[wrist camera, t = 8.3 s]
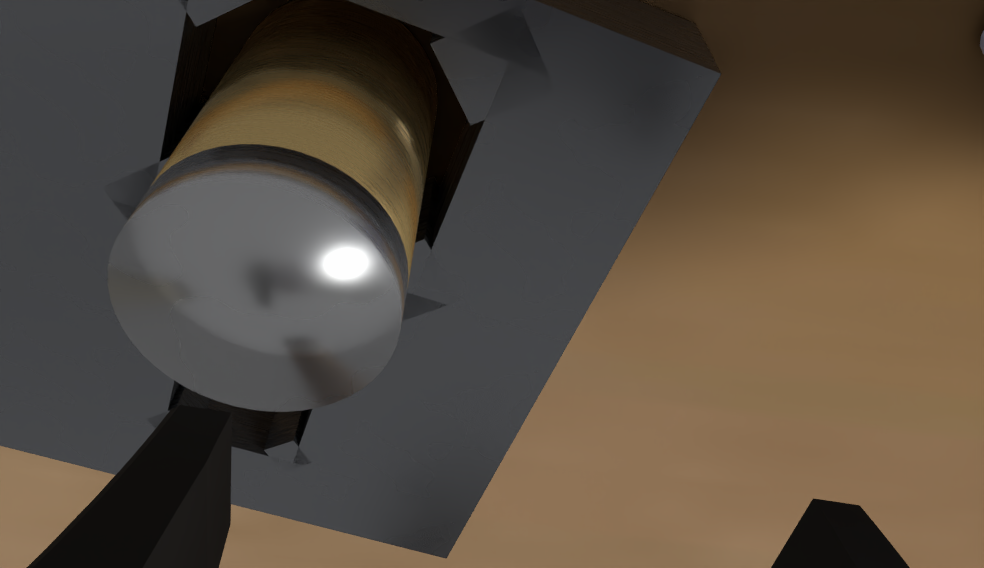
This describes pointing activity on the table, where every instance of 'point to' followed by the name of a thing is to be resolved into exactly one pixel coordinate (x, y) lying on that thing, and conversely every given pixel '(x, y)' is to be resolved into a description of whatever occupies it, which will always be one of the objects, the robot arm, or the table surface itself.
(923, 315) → the table surface
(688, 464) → the table surface
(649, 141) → the block
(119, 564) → the robot arm
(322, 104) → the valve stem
